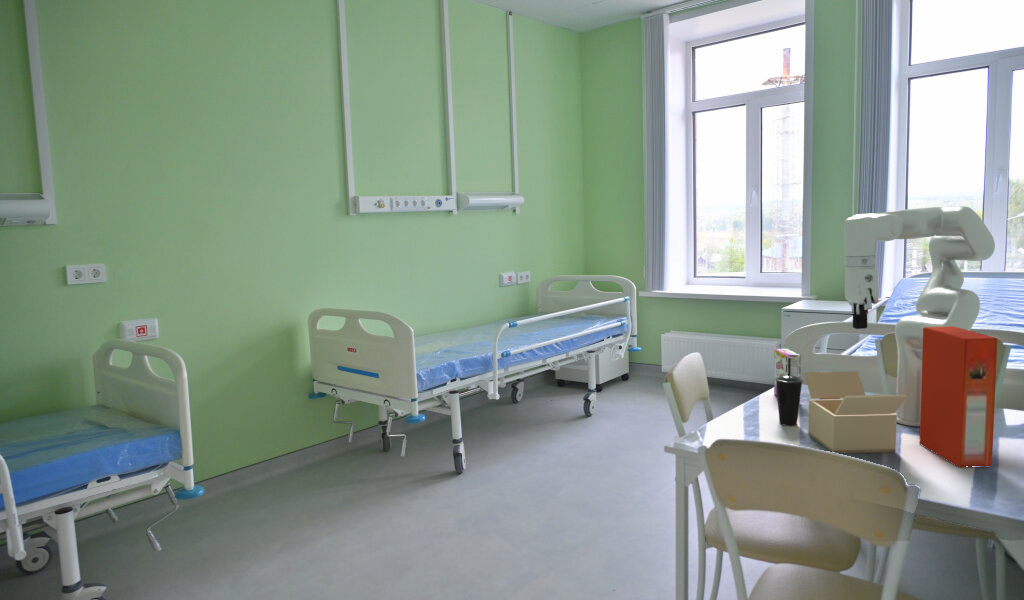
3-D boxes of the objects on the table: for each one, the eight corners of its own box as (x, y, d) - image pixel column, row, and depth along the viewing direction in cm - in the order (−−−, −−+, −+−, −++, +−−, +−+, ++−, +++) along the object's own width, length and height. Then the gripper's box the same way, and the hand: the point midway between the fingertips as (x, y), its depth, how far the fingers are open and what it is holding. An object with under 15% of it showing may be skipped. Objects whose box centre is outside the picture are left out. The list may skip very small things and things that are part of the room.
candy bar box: (772, 394, 234) (773, 348, 232) (787, 394, 233) (788, 348, 232) (785, 403, 222) (786, 355, 220) (800, 403, 222) (801, 354, 220)
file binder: (957, 467, 163) (963, 338, 159) (918, 444, 180) (923, 326, 176) (991, 467, 163) (998, 337, 159) (949, 443, 180) (954, 326, 176)
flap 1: (865, 396, 189) (865, 397, 189) (857, 371, 193) (856, 372, 194) (811, 397, 190) (811, 398, 190) (805, 372, 194) (804, 373, 194)
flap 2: (905, 394, 168) (906, 396, 168) (893, 411, 174) (894, 413, 174) (845, 395, 169) (845, 397, 168) (835, 412, 175) (835, 414, 174)
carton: (865, 432, 191) (866, 398, 190) (895, 452, 175) (896, 414, 174) (808, 433, 191) (809, 399, 190) (833, 453, 176) (834, 416, 174)
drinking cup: (804, 427, 197) (806, 361, 195) (777, 426, 198) (778, 360, 196) (799, 420, 204) (800, 355, 202) (772, 419, 206) (773, 355, 204)
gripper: (888, 263, 175) (888, 332, 178) (860, 258, 190) (860, 322, 192) (859, 265, 175) (859, 334, 178) (833, 260, 190) (834, 324, 193)
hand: (859, 327), depth 185 cm, fingers closed
